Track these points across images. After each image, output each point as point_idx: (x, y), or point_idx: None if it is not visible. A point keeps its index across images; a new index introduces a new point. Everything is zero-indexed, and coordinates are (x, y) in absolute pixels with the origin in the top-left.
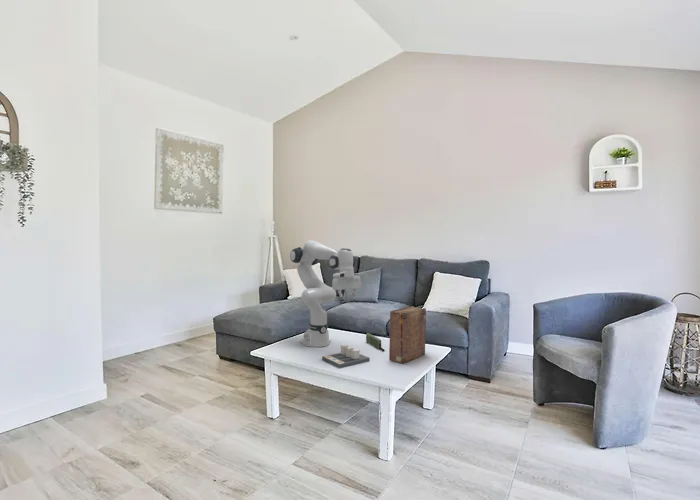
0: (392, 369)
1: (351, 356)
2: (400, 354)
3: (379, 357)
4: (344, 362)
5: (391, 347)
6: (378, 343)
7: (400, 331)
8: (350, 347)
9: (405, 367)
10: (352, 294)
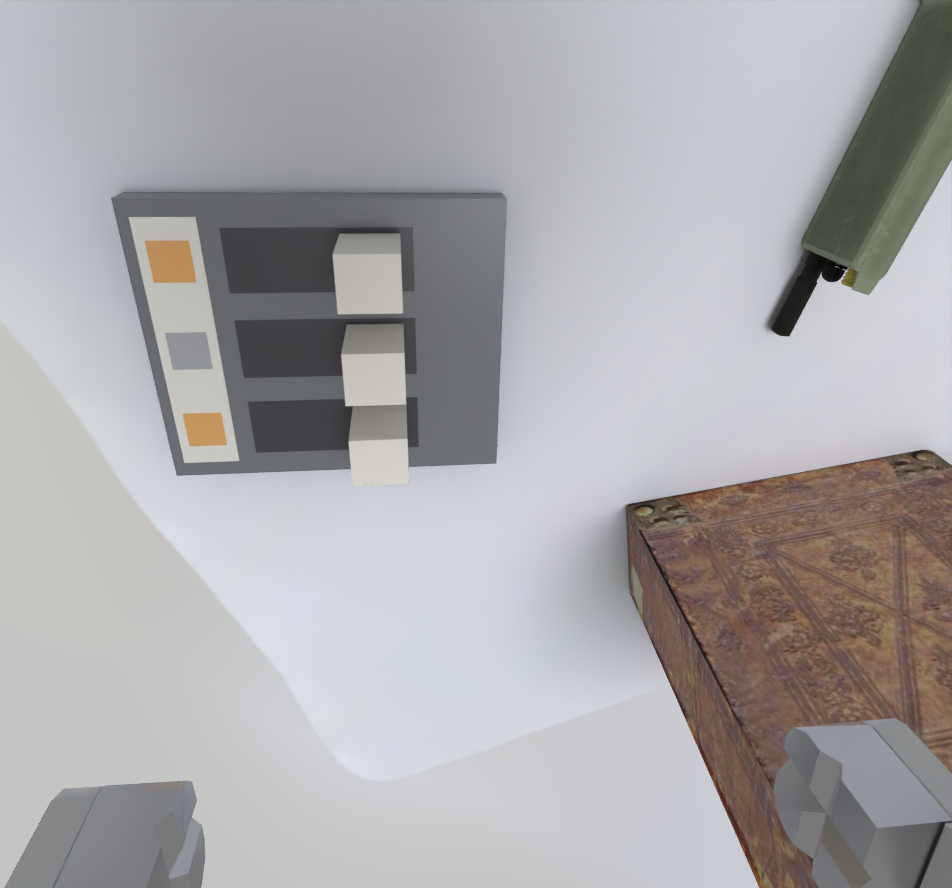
0: (503, 628)
1: (352, 412)
2: (649, 627)
3: (623, 421)
4: (242, 452)
5: (660, 588)
6: (834, 260)
7: (721, 786)
8: (384, 376)
9: (595, 637)
10: (830, 812)
